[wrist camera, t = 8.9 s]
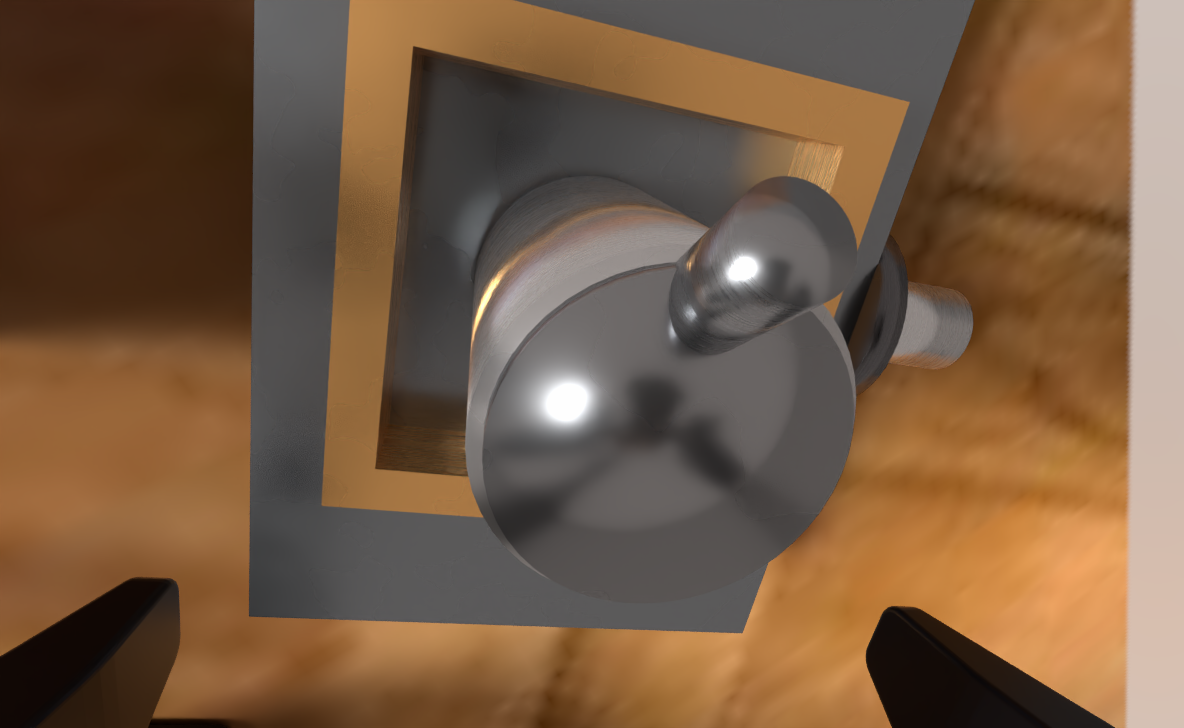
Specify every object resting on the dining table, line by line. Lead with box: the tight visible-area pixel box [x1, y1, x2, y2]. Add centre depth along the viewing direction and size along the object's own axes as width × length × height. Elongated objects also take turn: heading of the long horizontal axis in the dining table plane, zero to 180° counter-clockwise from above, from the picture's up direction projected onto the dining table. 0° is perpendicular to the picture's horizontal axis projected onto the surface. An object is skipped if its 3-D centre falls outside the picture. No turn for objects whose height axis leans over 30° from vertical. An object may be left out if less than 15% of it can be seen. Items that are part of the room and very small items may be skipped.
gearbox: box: [249, 0, 975, 633], centre depth 16 cm, size 18×20×6 cm
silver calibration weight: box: [465, 176, 857, 603], centre depth 10 cm, size 5×6×9 cm
